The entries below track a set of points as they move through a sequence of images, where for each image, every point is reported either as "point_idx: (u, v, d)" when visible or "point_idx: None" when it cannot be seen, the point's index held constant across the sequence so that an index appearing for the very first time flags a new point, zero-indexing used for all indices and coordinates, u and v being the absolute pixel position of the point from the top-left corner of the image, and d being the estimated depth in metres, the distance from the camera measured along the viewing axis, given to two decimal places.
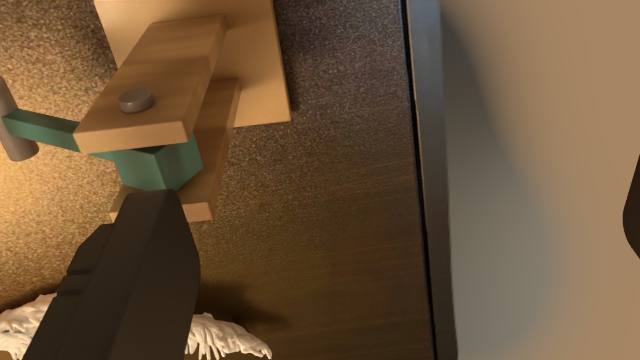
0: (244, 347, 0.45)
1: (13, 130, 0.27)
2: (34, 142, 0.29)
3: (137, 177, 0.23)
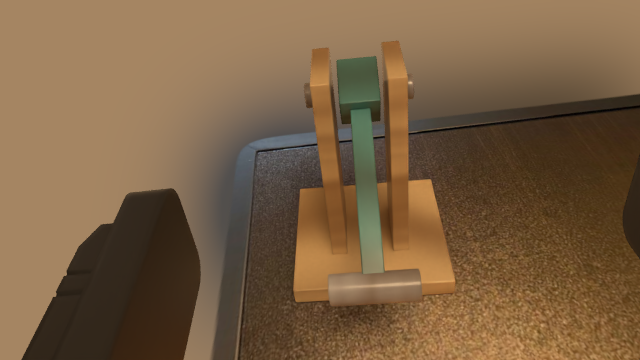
0: None
1: (375, 260, 0.25)
2: None
3: (365, 81, 0.28)
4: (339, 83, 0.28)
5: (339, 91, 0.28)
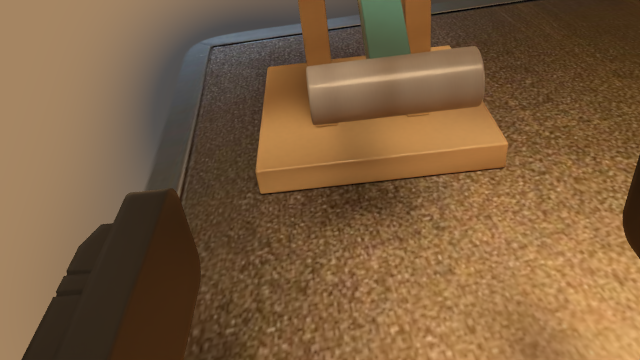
0: None
1: (393, 37, 0.14)
2: None
3: None
4: None
5: None
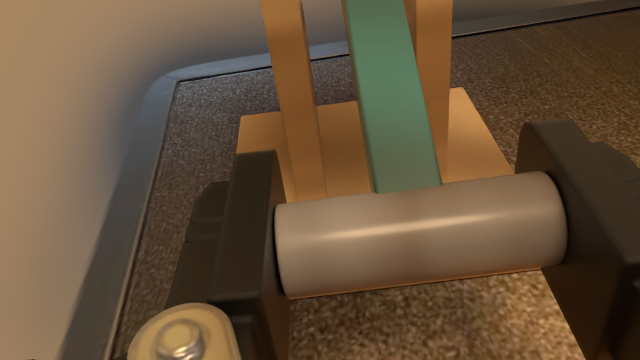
0: None
1: (413, 155, 0.09)
2: None
3: None
4: None
5: None
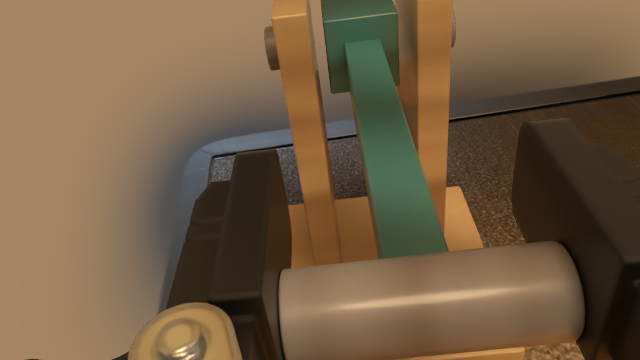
0: None
1: (419, 229, 0.09)
2: None
3: (369, 1, 0.16)
4: (324, 6, 0.16)
5: (323, 12, 0.16)
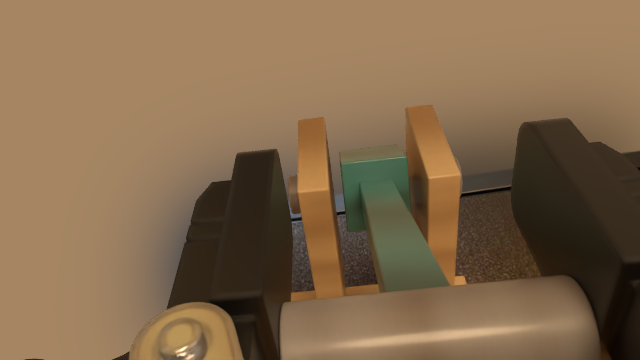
0: None
1: (424, 278, 0.09)
2: None
3: (382, 152, 0.18)
4: (342, 156, 0.18)
5: (341, 159, 0.18)
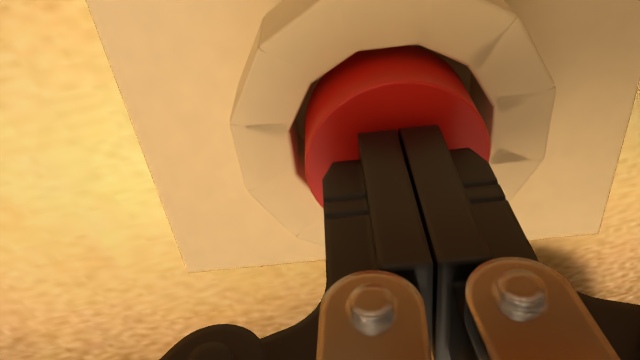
0: None
1: None
2: None
3: None
4: None
5: None
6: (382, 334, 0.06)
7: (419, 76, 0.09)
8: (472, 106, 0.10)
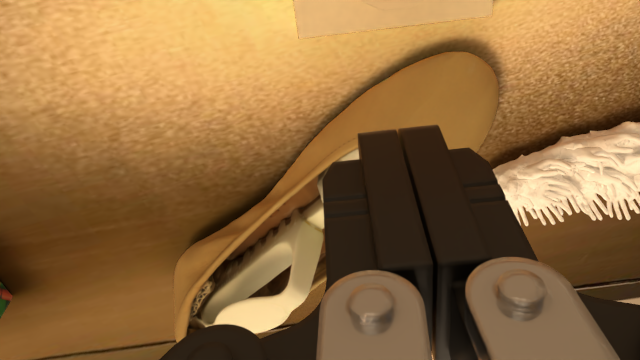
0: None
1: None
2: None
3: None
4: None
5: None
6: (381, 334, 0.06)
7: None
8: None
